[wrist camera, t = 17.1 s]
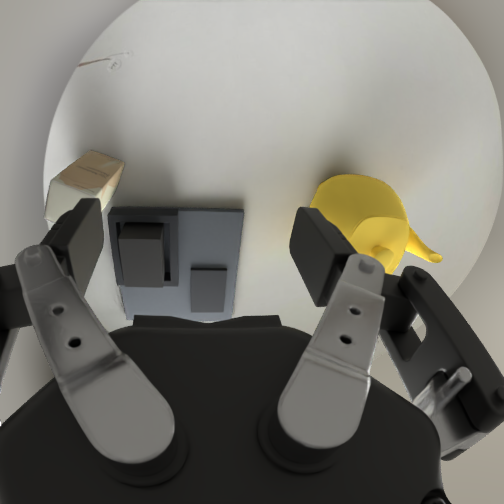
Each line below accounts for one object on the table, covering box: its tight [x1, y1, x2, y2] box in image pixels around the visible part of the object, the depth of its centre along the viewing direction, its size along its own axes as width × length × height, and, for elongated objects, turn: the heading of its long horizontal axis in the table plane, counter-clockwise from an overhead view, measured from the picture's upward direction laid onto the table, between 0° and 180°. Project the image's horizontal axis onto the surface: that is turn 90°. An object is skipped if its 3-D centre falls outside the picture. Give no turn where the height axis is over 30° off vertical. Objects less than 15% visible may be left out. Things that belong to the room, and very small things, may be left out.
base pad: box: [108, 207, 244, 321], centre depth 40 cm, size 17×19×3 cm
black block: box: [118, 222, 165, 288], centre depth 36 cm, size 5×7×4 cm
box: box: [44, 150, 125, 223], centre depth 28 cm, size 5×4×11 cm
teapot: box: [309, 174, 443, 274], centre depth 36 cm, size 13×20×12 cm
